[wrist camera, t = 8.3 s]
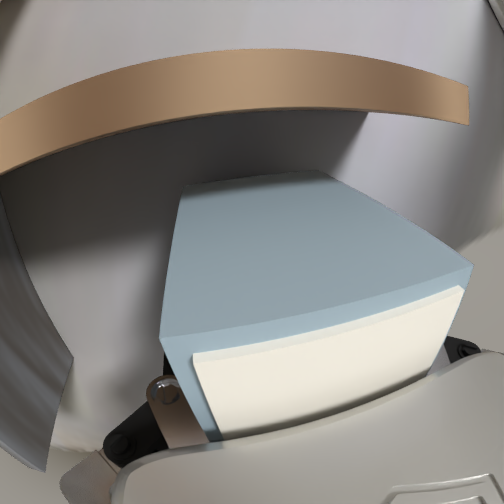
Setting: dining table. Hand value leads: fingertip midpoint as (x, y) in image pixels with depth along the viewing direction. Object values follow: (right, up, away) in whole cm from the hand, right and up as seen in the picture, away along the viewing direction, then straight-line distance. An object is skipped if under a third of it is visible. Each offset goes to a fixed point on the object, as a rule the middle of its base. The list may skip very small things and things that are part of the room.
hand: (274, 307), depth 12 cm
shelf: (-8, +2, +2) cm, 8 cm away
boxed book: (0, +1, +2) cm, 3 cm away
